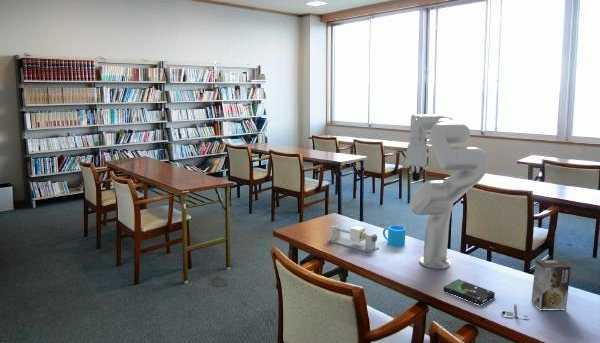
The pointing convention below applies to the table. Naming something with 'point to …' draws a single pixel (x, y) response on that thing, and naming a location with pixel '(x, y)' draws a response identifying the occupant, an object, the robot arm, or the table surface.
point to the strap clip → (511, 312)
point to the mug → (395, 235)
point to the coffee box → (550, 284)
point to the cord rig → (367, 247)
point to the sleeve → (356, 233)
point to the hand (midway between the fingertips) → (416, 180)
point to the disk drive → (469, 292)
